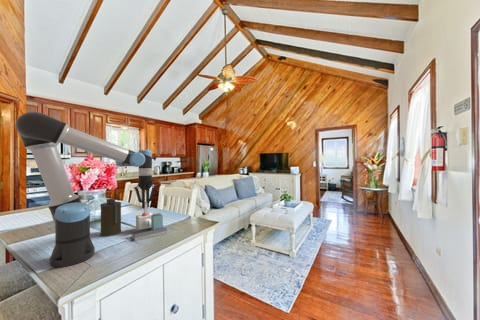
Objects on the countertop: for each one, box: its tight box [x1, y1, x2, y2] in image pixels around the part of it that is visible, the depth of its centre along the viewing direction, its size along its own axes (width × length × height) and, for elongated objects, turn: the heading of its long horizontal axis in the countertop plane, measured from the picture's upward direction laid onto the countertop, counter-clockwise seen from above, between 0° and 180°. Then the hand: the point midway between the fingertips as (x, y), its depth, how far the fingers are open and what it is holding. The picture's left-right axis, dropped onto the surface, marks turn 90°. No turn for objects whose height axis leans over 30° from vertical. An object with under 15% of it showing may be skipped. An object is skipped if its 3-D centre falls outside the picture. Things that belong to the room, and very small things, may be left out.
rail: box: [131, 227, 168, 242], centre depth 113 cm, size 17×7×3 cm, turn 130°
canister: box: [99, 198, 122, 237], centre depth 116 cm, size 11×10×20 cm
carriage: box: [151, 212, 164, 230], centre depth 116 cm, size 5×5×10 cm
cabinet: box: [135, 212, 154, 230], centre depth 122 cm, size 9×9×9 cm
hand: (145, 213), depth 122 cm, fingers closed
